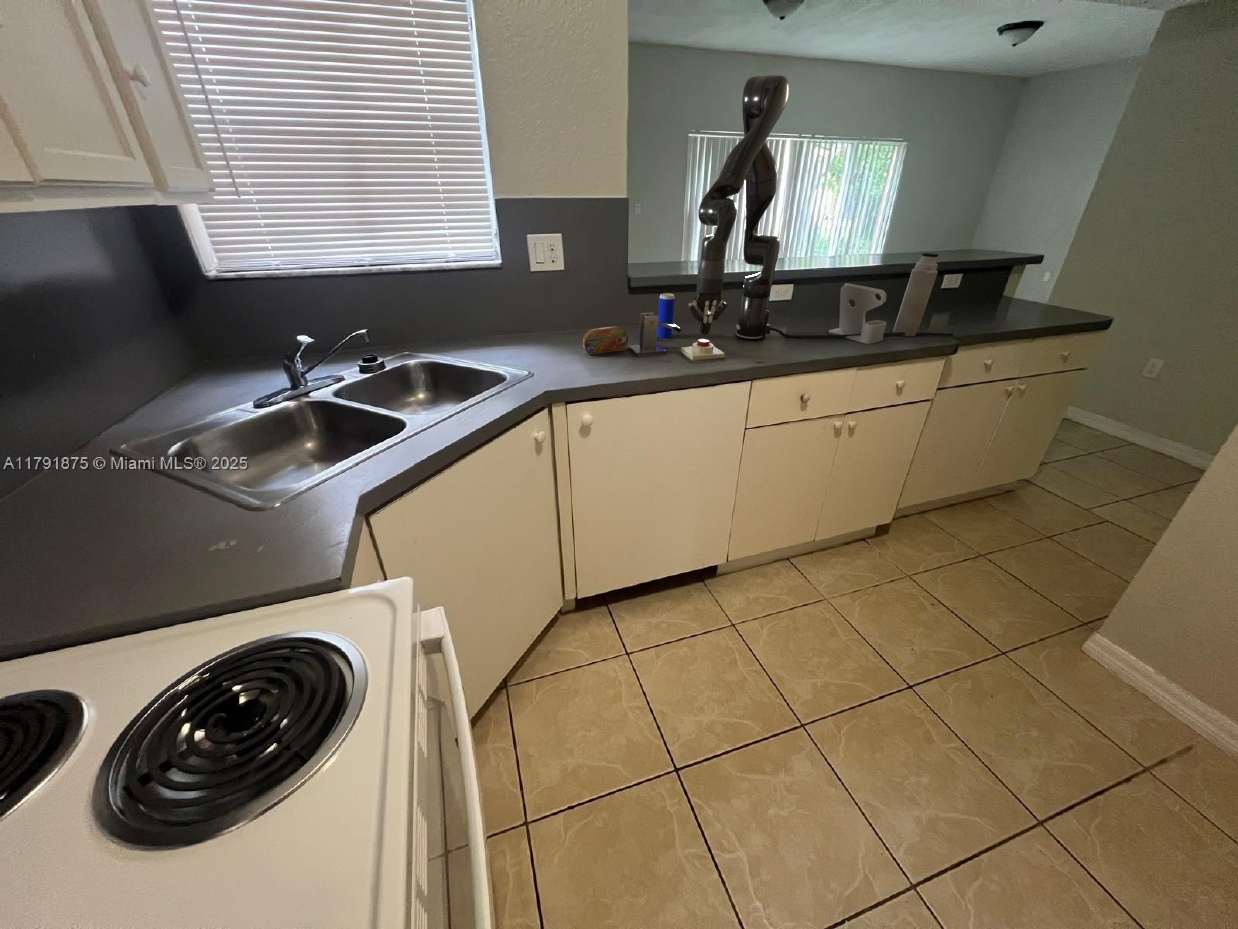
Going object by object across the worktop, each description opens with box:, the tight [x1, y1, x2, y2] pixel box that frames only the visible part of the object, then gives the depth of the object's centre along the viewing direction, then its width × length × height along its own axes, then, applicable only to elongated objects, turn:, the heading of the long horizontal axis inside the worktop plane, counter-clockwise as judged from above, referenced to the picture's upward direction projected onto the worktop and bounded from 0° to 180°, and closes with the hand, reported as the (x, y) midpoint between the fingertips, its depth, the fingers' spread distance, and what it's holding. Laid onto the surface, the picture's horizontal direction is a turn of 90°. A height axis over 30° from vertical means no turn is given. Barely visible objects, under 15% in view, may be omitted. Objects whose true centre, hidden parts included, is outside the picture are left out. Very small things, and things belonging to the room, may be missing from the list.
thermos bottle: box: [892, 252, 939, 337], centre depth 176 cm, size 8×8×28 cm
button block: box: [680, 341, 726, 361], centre depth 153 cm, size 11×9×4 cm
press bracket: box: [628, 312, 667, 355], centre depth 155 cm, size 10×8×12 cm
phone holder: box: [828, 282, 887, 345], centre depth 174 cm, size 17×10×18 cm, turn 34°
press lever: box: [643, 315, 682, 333], centre depth 154 cm, size 12×5×2 cm, turn 109°
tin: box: [582, 325, 629, 356], centre depth 152 cm, size 15×3×8 cm, turn 117°
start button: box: [697, 338, 711, 347], centre depth 152 cm, size 4×4×2 cm
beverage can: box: [657, 292, 676, 340], centre depth 167 cm, size 5×5×15 cm
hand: (704, 334), depth 151 cm, fingers closed
